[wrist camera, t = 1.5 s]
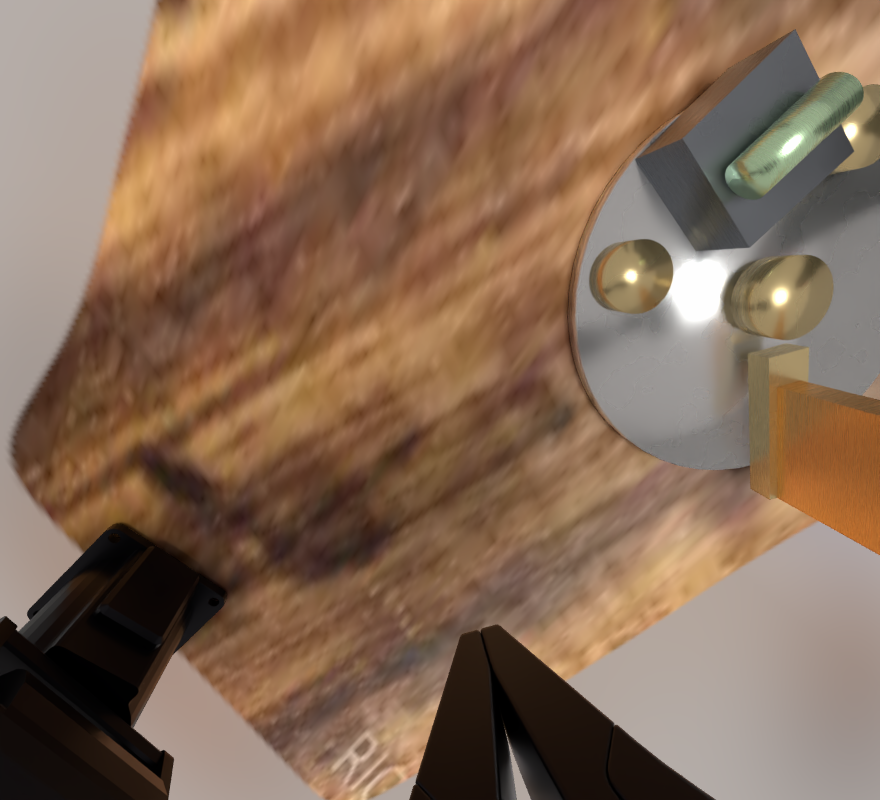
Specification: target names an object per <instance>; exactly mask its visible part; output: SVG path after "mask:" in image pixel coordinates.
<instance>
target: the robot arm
mask: <svg viewBox="0 0 880 800" xmlns="http://www.w3.org/2000/svg"><path fill="white" fill-rule="evenodd" d="M113 533H115V534H118V535H119V536H120V538H117V537H115V536H114V534H113ZM212 598H217V599H218V600H219V601H215V600H213V599H212ZM226 599H227V594H226V592H225V591H224V590H222V589H221V588H219V587H218V586H216V585H215V584H213V583H212V582H210V581H209V580H207V579H206V578H204V577H203V576H201V575H200V574H198V573H196V572H195V571H193V570H192V569H190V568H189V567H187V566H186V565H184V564H183V563H181V562H180V561H178V560H177V559H175V558H174V557H172V556H171V555H169V554H168V553H166V552H165V551H163V550H161V549H160V548H158V547H157V546H155V545H154V544H152V543H151V542H149V541H148V540H146V539H145V538H143V537H142V536H140V535H139V534H137V533H136V532H134V531H133V530H131V529H129V528H128V527H126V526H124V525H122V524H115V525H112V526H111V527H109V528H108V529H107V530H106V531H105V532H104V533H103V534H102V535H101V536H100V537H99V538H98V539H97V540H96V541H95V542H94V543H93V544H92V545H91V546H90V547H89V548H88V549H87V550H86V551H85V553H84V554H83V555H82V556H81V557H80V558H79V559H78V560H77V561H76V562H75V563H74V564H73V565H72V566H71V567H70V568H69V569H68V570H67V571H66V572H65V573H64V574H63V575H62V576H61V577H60V578H59V579H58V580H57V581H56V582H55V583H54V584H53V585H52V586H51V587H50V588H49V589H48V590H47V591H46V592H45V593H44V595H43V596H42V597H41V598H40V599H39V600H38V601H37V602H36V603H35V604H34V605H33V606H32V607H31V608H30V609H29V610H28V612H27V616H28V618H29V619H30V621H29V622H28V623H27V624H26V625H25V626H24V627H23V628H22V629H21V630H20V631H19V632H18V631H17V630H16V628H17V625H16V624H15V623H13V622H12V621H11V620H10V619H9V618H7V617H6V616H4V617H3V618H1V619H0V800H168V797H169V790H170V783H171V776H172V769H173V762H174V758H173V757H172V756H171V755H170V754H168V753H167V752H166V751H165V750H163V751H159V750H158V749H157V748H156V747H155V746H153V745H152V744H151V743H150V742H149V741H148V740H147V739H145V738H144V737H143V736H142V735H141V734H139V733H138V732H137V731H136V730H135V729H133V727H134V726H135V724H136V722H137V720H138V718H139V716H140V714H141V713H142V711H143V709H144V707H145V705H146V703H147V701H148V700H149V698H150V696H151V694H152V692H153V690H154V688H155V686H156V684H157V683H158V681H159V679H160V677H161V675H162V673H163V671H164V669H165V668H166V666H167V664H168V662H169V660H170V659H171V657H172V655H173V654H174V653H175V652H176V651H177V650H178V649H179V648H180V647H181V646H183V645H184V644H185V643H186V642H187V641H188V640H189V639H190V638H191V637H192V636H193V635H194V634H195V633H196V632H197V631H198V630H199V629H200V628H201V627H202V626H203V625H204V624H205V623H206V622H208V621H209V620H210V619H211V618H212V617H213V616H214V615H215V614H216V613H217V612H218V611H219V610H220V609H221V608H222V607H223V605H224V604H225V602H226ZM505 730H506V732H505ZM506 734H507V736H506ZM507 737H508V740H509V744H510V746H511V749H512V752H513V755H514V757H515V760H516V762H517V765H518V767H519V770H520V773H521V775H522V778H523V780H524V783H525V785H526V788H527V790H528V793H529V795H530V798H531V800H715V799H714V798H713V797H711V796H710V795H708V794H707V793H705V792H704V791H702V790H701V789H700V788H698V787H697V786H695V785H694V784H692V783H691V782H690V781H688V780H687V779H685V778H684V777H683V776H681V775H680V774H679V773H677V772H676V771H674V770H673V769H672V768H670V767H669V766H667V765H666V764H665V763H663V762H662V761H661V760H659V759H658V758H657V757H656V756H654V755H653V754H652V753H651V752H649V751H648V750H647V749H646V748H644V747H643V746H642V745H641V744H639V743H638V742H637V741H636V740H634V739H633V738H632V737H631V736H630V735H629V734H627V733H626V732H625V731H624V730H623V729H622V728H620V727H619V726H618V725H614V723H613V722H612V721H611V720H610V719H609V718H608V717H607V716H605V715H604V714H603V713H602V712H601V711H600V710H598V709H597V708H596V707H595V706H594V705H592V704H591V703H590V702H589V701H588V700H586V699H585V698H584V697H583V696H582V695H581V694H579V693H578V692H577V691H576V690H575V689H574V688H572V687H571V686H570V685H569V684H568V683H567V682H565V681H564V680H563V679H562V678H561V677H560V676H558V675H557V674H556V673H555V672H554V671H553V670H551V669H550V668H549V667H548V666H547V665H545V664H544V663H543V662H542V661H541V660H540V659H538V658H537V657H536V656H535V655H534V654H533V653H531V652H530V651H529V650H528V649H527V648H526V647H524V646H523V645H522V644H521V643H520V642H518V641H517V640H516V639H515V638H514V637H513V636H511V635H510V634H509V633H508V632H507V631H506V630H504V629H503V628H502V627H501V626H499V625H493V626H489V627H485V628H482V629H481V633H480V631H478V630H475V631H471V632H467V633H464V634H462V635H461V637H460V639H459V642H458V646H457V649H456V652H455V655H454V659H453V662H452V665H451V668H450V672H449V675H448V678H447V681H446V684H445V688H444V691H443V694H442V697H441V701H440V704H439V707H438V710H437V714H436V717H435V720H434V723H433V726H432V730H431V733H430V736H429V739H428V743H427V746H426V749H425V752H424V756H423V759H422V762H421V765H420V769H419V772H418V775H417V778H416V785H414V786H413V789H412V793H411V796H410V799H409V800H517V798H516V791H515V784H514V777H513V771H512V764H511V757H510V751H509V745H508V741H507Z"/></svg>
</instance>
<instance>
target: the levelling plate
mask: <svg viewBox="0 0 880 800" xmlns="http://www.w3.org/2000/svg"><path fill="white" fill-rule="evenodd" d="M788 255H812V256H815V257H818V258H820V259H821V260H822V261H824V262H825V263H826V264H827V266H828V267H829V269H830V271H831V274H832V277H833V283H834V290H833V297H832V301H831V304H830V306H829V309H828V311H827V313H826V314H825V316H824V317H823V319H822V320H821V321H820V323H819V324H818V325H817V326H816V327H815V328H814V329H813V330H811V331H810V332H809V333H807V334H805V335H804V336H802V337H799V338H796V339H792V340H779V339H773V338H767V337H761V336H755V335H750V334H747V333H745V332H744V331H742V330H741V329H740V328H739V327H738V326H737V325H736V323H735V321H734V319H733V317H732V313H731V297H732V293H733V289H734V287H735V284H736V282H737V281H738V279H739V277H740V276H741V275H742V273H743V272H744V271H745V270H746V269H747V268H748V267H749V266H750V265H751V264H753V263H754V262H756V261H758V260H760V259H762V258H765V257H770V256H788ZM568 324H569V336H570V344H571V349H572V353H573V358H574V363H575V366H576V369H577V371H578V374H579V377H580V380H581V382H582V385H583V387H584V389H585V390H586V392H587V394H588V396H589V398H590V400H591V402H592V403H593V405H594V406H595V407H596V409H597V410H598V411H599V413H600V414H601V415H602V417H603V418H604V419H605V420H606V421H607V422H608V423H609V424H610V425H611V426H612V427H613V428H614V429H615V430H616V431H617V432H618V433H619V434H620V435H622V436H623V437H625V438H626V439H627V440H629V441H630V442H632V443H633V444H634V445H636V446H637V447H639V448H640V449H642V450H643V451H645V452H647V453H649V454H651V455H653V456H655V457H657V458H659V459H661V460H663V461H666V462H669V463H672V464H675V465H679V466H683V467H689V468H695V469H704V470H723V469H733V468H741V467H745V466H750V440H749V392H748V354H749V353H752V352H756V351H760V350H763V349H767V348H770V347H774V346H778V345H781V344H785V343H787V344H793V345H799V346H805V347H809V373H808V382H809V383H813V384H817V385H821V386H825V387H829V388H833V389H837V390H841V391H845V392H849V393H853V394H857V395H861V396H862V395H863V393H864V392H865V391H866V390H867V389H868V388H869V387H870V385H871V384H872V383H873V381H874V380H875V379H876V377H877V376H878V374H879V373H880V85H875V84H873V85H867V86H864V87H862V85H861V83H860V82H859V80H858V79H857V78H855V77H854V76H853V75H851V74H848V73H844V72H834V73H830V74H827V75H825V76H824V77H822V78H821V79H820V78H819V77H818V75H817V73H816V71H815V69H814V67H813V65H812V63H811V61H810V59H809V57H808V55H807V53H806V50H805V48H804V46H803V44H802V42H801V40H800V38H799V36H798V34H797V32H796V30H793V31H792V32H790V33H788V34H786V35H785V36H783V37H781V38H780V39H778V40H776V41H774V42H773V43H771V44H769V45H768V46H766V47H764V48H762V49H761V50H759V51H757V52H756V53H754V54H752V55H750V56H749V57H747V58H745V59H744V60H742V61H740V62H738V63H737V64H735V65H733V66H732V67H730V68H728V69H727V70H726V71H725V72H724V73H723V74H722V75H721V76H720V77H719V78H718V79H717V80H716V81H715V82H714V83H713V84H712V85H711V86H710V87H709V88H708V89H707V90H706V91H705V92H704V93H703V94H702V95H701V96H699V97H698V98H697V99H696V100H695V101H694V102H693V103H692V104H691V105H690V106H689V107H688V108H687V109H685V110H684V111H682V112H681V113H679V114H678V115H676V116H675V117H673V118H672V119H670V120H669V121H667V122H666V123H664V124H663V125H662V126H661V127H659V128H658V129H657V130H656V131H655V132H654V133H653V134H651V135H650V136H649V137H648V138H647V139H646V140H644V141H643V142H642V143H641V144H640V145H639V146H638V148H637V149H636V150H635V151H634V152H633V153H632V154H631V155H630V156H629V157H628V159H627V160H626V161H625V162H624V163H623V164H622V165H621V167H620V168H619V170H618V171H617V172H616V174H615V175H614V177H613V178H612V179H611V181H610V182H609V184H608V185H607V186H606V188H605V190H604V191H603V193H602V195H601V197H600V199H599V200H598V202H597V204H596V206H595V208H594V209H593V211H592V213H591V216H590V218H589V220H588V223H587V225H586V228H585V230H584V232H583V235H582V237H581V240H580V244H579V247H578V251H577V254H576V258H575V261H574V265H573V270H572V276H571V282H570V288H569V303H568Z"/></svg>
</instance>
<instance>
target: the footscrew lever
mask: <svg viewBox="0 0 880 800" xmlns="http://www.w3.org/2000/svg"><path fill="white" fill-rule="evenodd" d="M833 290H834V283H833V277H832V274H831V271H830V269H829V267H828V266H827V264H826V263H825V262H824V261H822V260H821V259H820V258H818V257H815V256H812V255H788V256H770V257H765V258H762V259H760V260H758V261H756V262H754V263H753V264H751V265H750V266H749V267H748V268H747V269H746V270H745V271H744V272H743V273H742V275H741V276H740V277H739V279H738V281H737V282H736V284H735V287H734V289H733V293H732V297H731V313H732V317H733V319H734V321H735V323H736V325H737V326H738V327H739V328H740V329H741V330H742V331H744V332H745V333H747V334H750V335H755V336H761V337H767V338H773V339H779V340H792V339H796V338H799V337H802V336H804V335H805V334H807V333H809V332H810V331H811V330H813V329H814V328H815V327H816V326H817V325H818V324H819V323H820V321H821V320H822V319H823V317H824V316H825V314H826V313H827V311H828V309H829V306H830V304H831V301H832V297H833ZM808 373H809V347H805V346H799V345H793V344H787V343H785V344H781V345H778V346H774V347H770V348H767V349H763V350H760V351H756V352H752V353H749V354H748V392H749V440H750V487H751V489H752V490H754V491H755V492H757V493H759V494H761V495H762V496H764V497H766V498H768V499H769V500H771V499H774V498H779V499H780V500H782V501H784V502H786V503H788V504H789V505H791V506H793V507H795V508H796V509H798V510H800V511H802V512H804V513H805V514H807V515H809V516H811V517H813V518H814V519H816V520H818V521H820V522H821V523H823V524H825V525H827V526H829V527H831V528H832V529H834V530H836V531H838V532H839V533H841V534H843V535H845V536H846V537H848V538H850V539H852V540H854V541H855V542H857V543H859V544H861V545H862V546H864V547H866V548H868V549H870V550H872V551H873V552H875V553H877V554H879V555H880V400H877V399H873V398H869V397H865V396H861V395H857V394H853V393H849V392H845V391H841V390H837V389H833V388H829V387H825V386H821V385H817V384H813V383H809V382H808Z"/></svg>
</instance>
